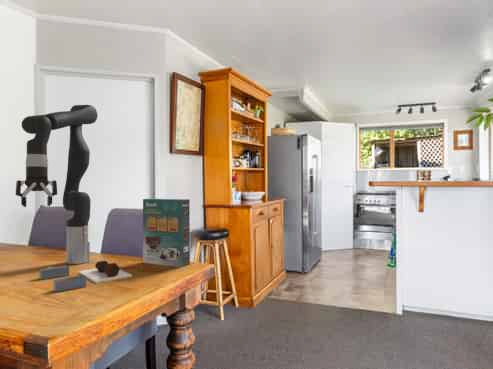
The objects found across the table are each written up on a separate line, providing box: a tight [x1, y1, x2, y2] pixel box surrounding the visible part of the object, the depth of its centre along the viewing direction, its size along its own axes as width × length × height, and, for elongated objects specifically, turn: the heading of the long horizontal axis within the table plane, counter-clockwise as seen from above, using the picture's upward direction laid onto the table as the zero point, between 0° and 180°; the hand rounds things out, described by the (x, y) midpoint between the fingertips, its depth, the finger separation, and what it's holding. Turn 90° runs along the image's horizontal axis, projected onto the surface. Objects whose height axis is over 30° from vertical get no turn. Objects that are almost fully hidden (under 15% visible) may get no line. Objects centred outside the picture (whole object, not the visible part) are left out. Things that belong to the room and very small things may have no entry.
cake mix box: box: [142, 198, 191, 268], centre depth 166 cm, size 22×6×30 cm, turn 66°
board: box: [78, 268, 133, 284], centre depth 145 cm, size 14×20×1 cm
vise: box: [38, 265, 87, 293], centre depth 137 cm, size 10×30×4 cm, turn 42°
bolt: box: [95, 260, 121, 277], centre depth 145 cm, size 6×5×15 cm
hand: (37, 206), depth 143 cm, fingers open, 8 cm apart
